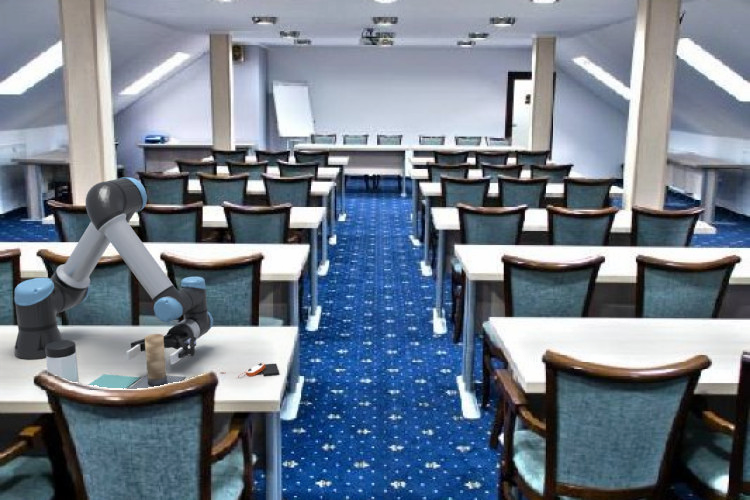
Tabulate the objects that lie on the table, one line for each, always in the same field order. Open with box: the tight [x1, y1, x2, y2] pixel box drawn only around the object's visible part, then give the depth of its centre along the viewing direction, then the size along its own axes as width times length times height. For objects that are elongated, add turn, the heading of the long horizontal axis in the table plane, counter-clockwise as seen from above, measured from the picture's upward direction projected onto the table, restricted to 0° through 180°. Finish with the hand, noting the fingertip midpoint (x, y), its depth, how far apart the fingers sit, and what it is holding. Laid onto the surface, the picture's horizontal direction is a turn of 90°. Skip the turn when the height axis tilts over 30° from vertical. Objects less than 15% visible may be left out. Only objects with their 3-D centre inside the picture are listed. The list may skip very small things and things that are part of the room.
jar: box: [45, 339, 79, 383], centre depth 221 cm, size 9×8×12 cm
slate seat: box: [128, 374, 186, 389], centre depth 222 cm, size 12×12×1 cm
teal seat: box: [87, 373, 141, 389], centre depth 222 cm, size 12×12×1 cm
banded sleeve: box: [144, 333, 167, 386], centre depth 220 cm, size 5×5×14 cm
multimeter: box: [221, 362, 280, 379], centre depth 228 cm, size 18×12×3 cm, turn 100°
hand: (149, 358), depth 217 cm, fingers open, 13 cm apart
